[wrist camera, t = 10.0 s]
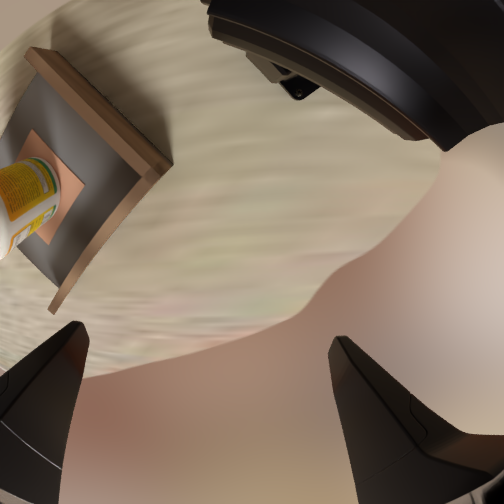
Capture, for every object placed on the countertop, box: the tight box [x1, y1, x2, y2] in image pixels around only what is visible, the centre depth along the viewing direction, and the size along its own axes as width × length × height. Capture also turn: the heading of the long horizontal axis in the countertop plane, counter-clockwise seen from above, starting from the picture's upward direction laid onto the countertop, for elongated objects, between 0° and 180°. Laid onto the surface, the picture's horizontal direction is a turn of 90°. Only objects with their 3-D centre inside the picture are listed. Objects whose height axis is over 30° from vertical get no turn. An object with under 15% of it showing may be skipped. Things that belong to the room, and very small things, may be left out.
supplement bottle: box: [0, 157, 60, 260], centre depth 12 cm, size 5×5×10 cm
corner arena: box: [0, 47, 173, 315], centre depth 15 cm, size 16×14×4 cm
